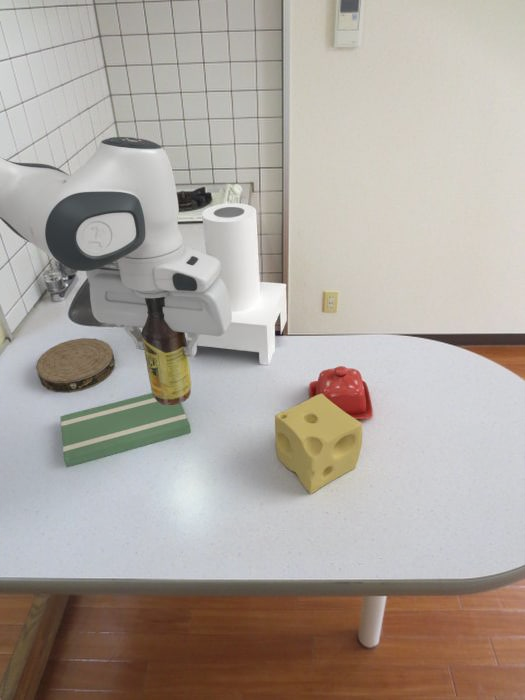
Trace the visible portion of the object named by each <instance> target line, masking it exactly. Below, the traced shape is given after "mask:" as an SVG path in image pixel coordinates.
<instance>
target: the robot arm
mask: <svg viewBox="0 0 525 700" xmlns="http://www.w3.org/2000/svg"><path fill="white" fill-rule="evenodd" d="M176 186H177V185H176V180H175V176H174V172H173V168H172V164H171V161H170V158H169V156H168V154H167V152H166V150H165V148H164V147H162V146H161V145H160V144H158V143H157V142H154V141H151V140H148V139H143V138H136V137H129V136H115V137H108V138H105V139H102V140H101V141H100V142H99V145H98V147H97V149H96V151H95V152H94V153H93V155H92V156H90V158H89V159H87V162H85V163H84V164H83V165H82V166H81V167H80V168H79V169H77V170H76V171H74V172H73V173H72V174H69V173H67V172H65V171H64V170H62V169H60V168H58V167H57V166H53V165H50V164H46V163H38V162H37V163H36V162H35V163H34V162H17V161H16V162H15V161H11V160H9V159H5V158H3V157H1V156H0V220H1V221H2V222H3V223H4V224H5V225H6V226H7V227H8V228H9V229H10V230H11V231H12V232H13V233H15V234H16V236H18V237H20V238H21V239H22V240H25V241H27V242H29V243H31V244H32V245H33V246H35V247H36V248H38V249H39V250H41V251H42V252H43V253H44V254H46V255H48V256H49V257H50V258H52V260H55V261H56V262H58V263H59V264H60V265H62V266H63V267H66V268H68V269H71V270H73V271H78V272H85V273H86V274H85V275H86V278H87V282H88V284H89V297H90V299H89V300H90V306H91V313H92V316H93V317H94V318H95V319H96V321H98V322H99V323H101V324H108V325H118V326H123V327H124V332H126V334H127V335H128V336H129V337H130V338H131V339H132V340H133V341H134V345H135V349H136V350H139V351H144V346H143V340H142V329H143V327H144V326H145V323H146V320H147V317H148V313H147V312H148V308H147V305H146V301H145V298H160V297H165V299H164V302H165V307H163V313H164V320H165V322H166V323H167V324H168V326H169V327H170V328H171V329H172V330H173V331H176V332H185V333H187V335H188V338H192V339H191V340H187V341H186V343H185V344H184V345H183V346H182V348H183V351H184V352H183V355H186V356H188V357H194V355H195V356H196V354H197V352H198V345H196V342H197V340H198V338H199V336H200V334H202V335H210V336H222V335H223V334H224V333H225V331H226V330H227V329H228V327H229V326H230V323H231V320H232V314H231V306H230V300H229V295H228V291H227V288H226V285H225V283H224V282H223V280H222V279H221V278H219V277H218V275H219V273H220V270H221V264H220V261H219V260H218V259H217V258H215V257H212V256H210V255H207V254H206V253H204V252H202V251H200V250H197V249H195V248H193V247H190V246H188V245H187V244H184V239H183V236H182V232H181V230H180V228H179V223H178V222H179V221H178V218H179V212H180V208H179V199H178V192H177V187H176ZM140 328H142V329H140Z"/></svg>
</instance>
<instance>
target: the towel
mask: <svg viewBox="0 0 525 700" xmlns="http://www.w3.org/2000/svg"><path fill="white" fill-rule="evenodd" d="M183 406H184V405H183V404H182V403H179V404H175V405H163V404H161V403H159V402H158V401H157V400H156V399H155V398H154V396H153V393H152V392H149V393H147V394H142V395H138V396H134V397H131V398H125V399H123V400H119V401H114V402H111V403H107V404H103V405H99V406H94V407H92V408H88V409H84V410H80V411H75V412H73V413H68V414H64V415H60V427H61V429H60V430H61V439H62V441H61V442H62V452H63V460H64V464H65V465H66V468H70V467H73V466H76V465H80V464H84V463H87V462H91V461H95V460H98V459H102V458H105V457H109V456H112V455H116V454H119V453H123V452H126V451H130V450H134V449H137V448H142V447H146V446H148V445H151V444H152V445H153V444H155V443H159V442H162V441H165V440H170V439H173V438H176V437H177V438H178V437H180V436H183V435H184V436H185V435H188V434H191V432H192V431H191V424H190V422H189V419H188V416H187V414H186V412H185V409H184V407H183Z"/></svg>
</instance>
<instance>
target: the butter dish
mask: <svg viewBox="0 0 525 700" xmlns="http://www.w3.org/2000/svg"><path fill="white" fill-rule="evenodd" d="M362 377H363V376H362V374H361V373H360V371H359V370H358V369H355V368H350V367H346V366H344V365H339V366H336V367H333V368H327V369H325V370H322V371H320V373H319V374H318V378H317V380H313V381H311V382H310V383H309V385H308V386H309V387H308V392H309V399H310V398H312V397H314V396H316V395H319V394H323V395H324V396H325V397H326V398H327V399H329V400H330V401H331V402H332V403H334V404H335V405H336V406H338V407H339V408H340V409H341V410H343V411H344V412H345V413H347V414H348V415H350V416H352V417H353V418H355V419H356V420H368V419H372V418H373V416H374V413H373V411H374V410H373V405H372V401H371V395H370V391H369V388H368V387H369V386H368V385H367V382H365V381H364V380H363V378H362Z"/></svg>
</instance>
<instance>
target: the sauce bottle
mask: <svg viewBox="0 0 525 700" xmlns="http://www.w3.org/2000/svg"><path fill="white" fill-rule="evenodd" d="M164 299H165V297H160V298H145V301H146V305H147V308H148V312H147V313H148V317H147V320H146V323H145V326H144V327H143V328H142V329H141V331H142V340H143V346H144V350H143V351H144V358H145V362H146V368H147V373H148V374H147V375H148V379H149V384H150V390H151V393H153V396H154V398H155V399H156V400H157V401H158V402H159V403H161V404H163V405H175V404H179V403H181V404H182V403H183V402H186V401H187V400H188V399H189V398H190V396H191V393H192V378H191V369H190V368H191V367H190V360H189V356H186V355H183V352H184V351H183V348H182V346H183V345H184V344H185V343H186V337H185V332H176V331H173V330H172V329H171V328H170V327H169V326H168V324H167V323H166V322H165V320H164V313H163V307H165V302H164Z"/></svg>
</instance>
